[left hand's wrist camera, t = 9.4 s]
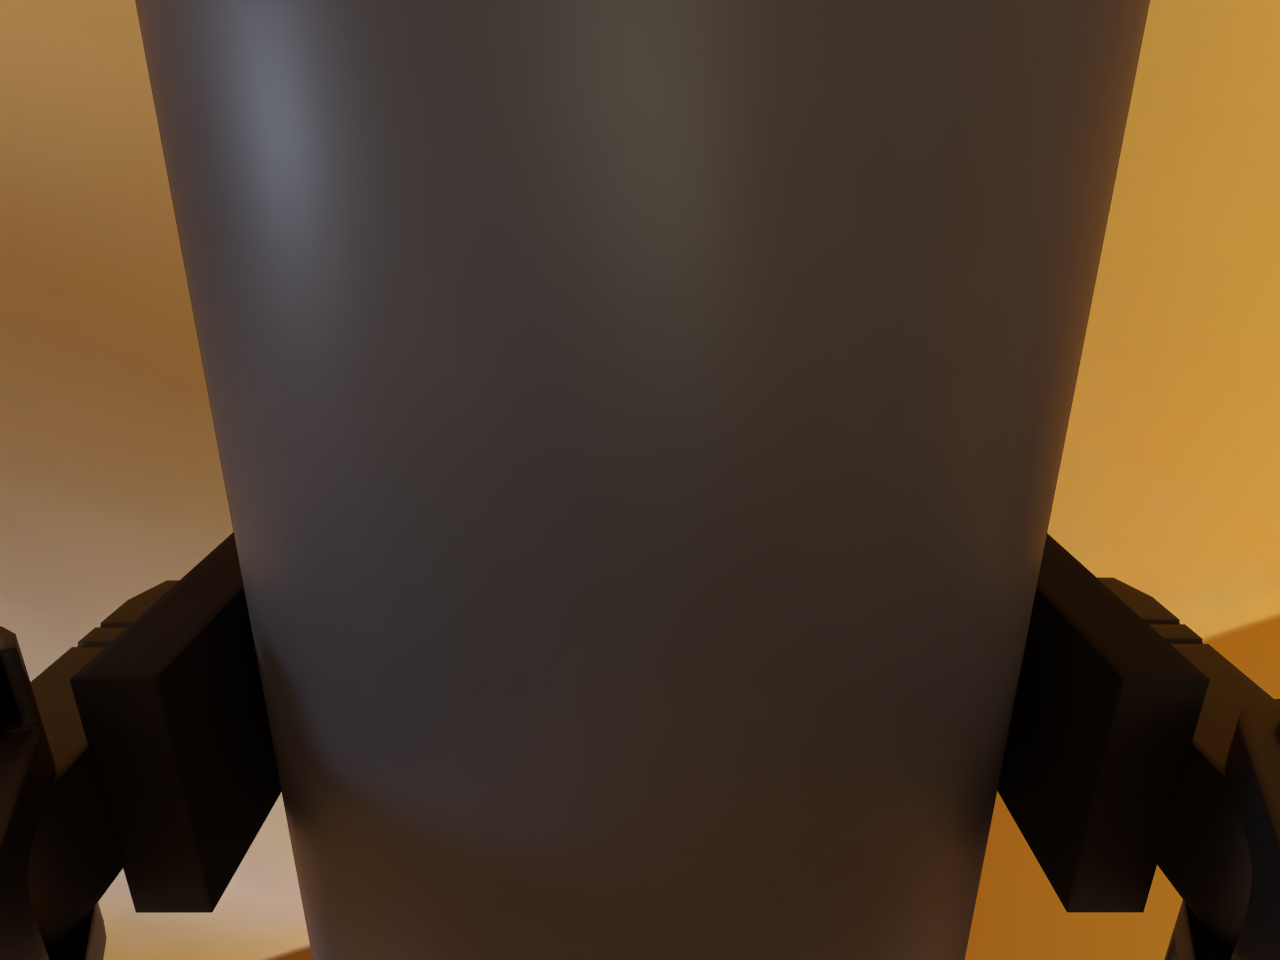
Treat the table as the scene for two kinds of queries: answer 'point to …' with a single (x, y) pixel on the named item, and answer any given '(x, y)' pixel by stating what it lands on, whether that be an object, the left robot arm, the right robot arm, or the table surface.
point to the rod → (640, 445)
